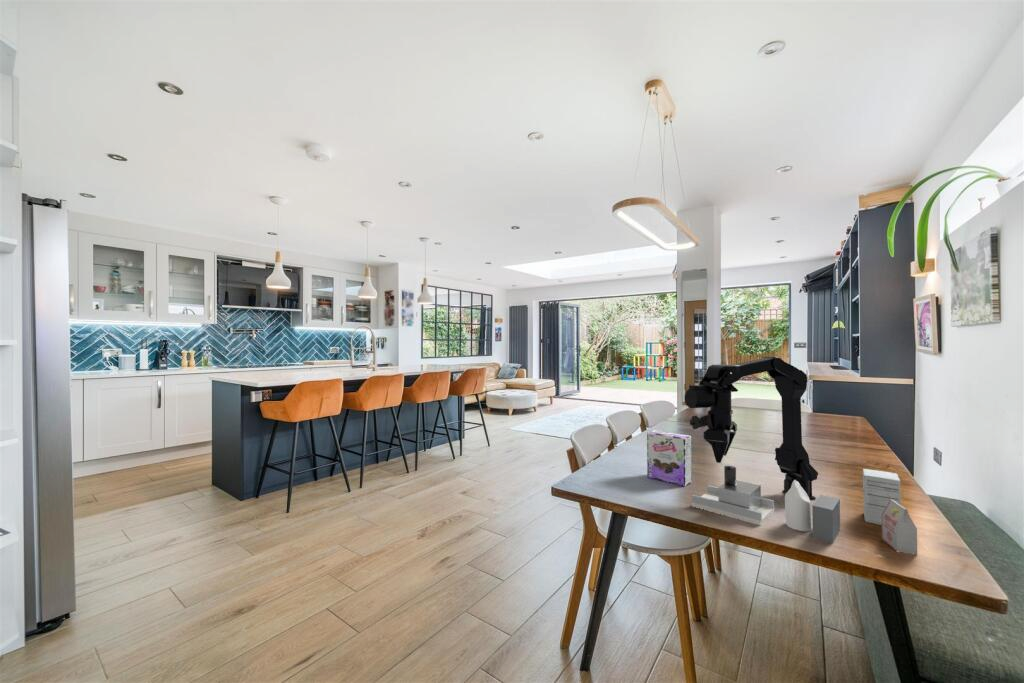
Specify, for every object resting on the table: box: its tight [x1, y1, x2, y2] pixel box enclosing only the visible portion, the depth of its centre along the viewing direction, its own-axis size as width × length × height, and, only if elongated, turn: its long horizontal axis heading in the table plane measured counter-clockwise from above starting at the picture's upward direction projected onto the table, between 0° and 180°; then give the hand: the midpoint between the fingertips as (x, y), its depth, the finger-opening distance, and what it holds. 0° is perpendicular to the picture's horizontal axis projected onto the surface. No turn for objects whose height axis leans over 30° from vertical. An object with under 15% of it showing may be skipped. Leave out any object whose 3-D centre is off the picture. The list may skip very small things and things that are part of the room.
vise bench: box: [691, 484, 841, 544], centre depth 114 cm, size 33×13×8 cm, turn 44°
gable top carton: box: [881, 499, 918, 555], centre depth 97 cm, size 4×7×10 cm, turn 160°
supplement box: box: [862, 468, 902, 526], centre depth 111 cm, size 7×7×13 cm
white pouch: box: [784, 480, 812, 532], centre depth 108 cm, size 6×12×6 cm
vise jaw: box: [717, 465, 762, 510], centre depth 118 cm, size 8×10×10 cm
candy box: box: [646, 429, 692, 487], centre depth 145 cm, size 14×6×16 cm, turn 45°
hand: (721, 458), depth 123 cm, fingers open, 9 cm apart
